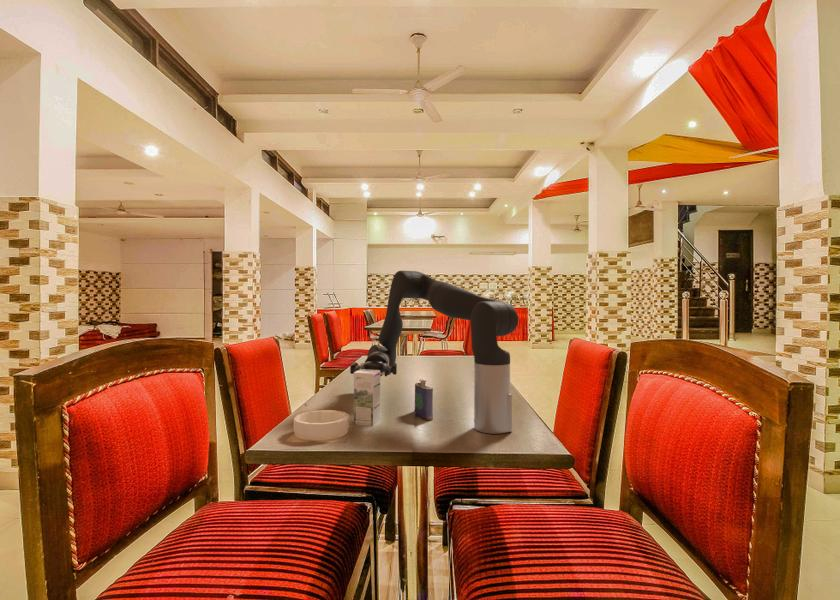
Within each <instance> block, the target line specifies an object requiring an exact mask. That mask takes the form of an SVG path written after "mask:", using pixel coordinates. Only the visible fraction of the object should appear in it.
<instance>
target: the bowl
mask: <svg viewBox="0 0 840 600" xmlns="http://www.w3.org/2000/svg"><path fill="white" fill-rule="evenodd" d="M349 425H350V414H349V413H347V412H345V411H342V410H335V409H334V410H333V409H332V410H331V409H325V410H324V409H323V410H322V409H321V410H312V411H306V412H302V413H299V414H297V415H296V416H295V417H294V418H293V433H295V437H296V438H298V439H300V440H305V441H328V440H334V439H338V438H341V437H344V436H345V435H347V434H348V429H349Z"/></svg>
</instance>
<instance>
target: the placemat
mask: <svg viewBox="0 0 840 600" xmlns="http://www.w3.org/2000/svg"><path fill="white" fill-rule="evenodd" d="M354 427H355V424H349V429H348V434H347V435H345V436H344V437H341V438H338V439H334V440H328V441H305V440H300V439H298V438H296V437H295V433H294V432H293V433H292V434H291V435H290V436H289V437H288V438H287V439H286V440H285V442H284V443H346V442H347V440H348V438H349V437H350V435H351V433H352V430H353V429H354Z"/></svg>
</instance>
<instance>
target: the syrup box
mask: <svg viewBox="0 0 840 600" xmlns="http://www.w3.org/2000/svg"><path fill="white" fill-rule="evenodd" d="M380 421H381V377H380V370H365V369H360V370H358V371H356V372H354V374H353V425H360V426H361V425H362V426H370V427H373V426H375V425H377V424H378V423H379V422H380Z"/></svg>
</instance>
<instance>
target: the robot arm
mask: <svg viewBox="0 0 840 600" xmlns="http://www.w3.org/2000/svg"><path fill="white" fill-rule="evenodd" d="M403 299H422V300H426V301H428V303H429V306H430V307H431V308H432V309H433V310H435V311H436V312H438V313H439V314H442V315H445V316H447V317H449V318H453V319H457V320H459V319H460V320H464V321H465V320H466V321H470V339H471V340H470V341H471V351H472V354H473V358H474V359H473V361H474V363H473V364H474V365H473V367H474V369H473V370H474V371H473V374H474V376H473V377H474V379H473V381H474V383H473V384H474V385H473V387H474V388H473V390H474V391H473V395H474V396H473V401H474V402H473V403H474V404H473V405H474V406H473V409H474V411H473V416H474V418H473V423H474V424H473V428H474V430H476V431H477V432H481V433H484V434H491V435H492V434H495V435H496V434H505V433H511V432H512V433H513V395H512V393H511V354H510V352H509V351H507V350H505V349H503V348H501V347H500V346H499V344H498V337H504V336H505V337H506V336H508V335H511V334H512V333H513V332H514V331H515V330H516V329H517V328H518V325H519V315H518V313H517V311H516V309H515V307H514V306H513V305H512V304H510V302H509V303H508V302H506V301H503V300H497V299H492V298H488V297H484V296H481V295H479V294H476V293H474V292H473V291H472V292H471V291H469V290H467V289H464V288H461V287H459V286H456V285H454V284H451V283H449V282H444V281H440V280H437V279H434V278H432V277H431V276H428V275H427V274H425V273H424V272H420V271H416V270H397V272H395V273H394V275H393V278H392V279H391V284H390V289H389V294H388V300H387V305H386V312H385V318H384V320H383V321H384V322H383V324H382V327H381V329H380V332H379V335H378V339H377V340H378V342H379V344H373V345H372V346H370V347H369V350H368V352H367V358H366V359H365V360H364V362H362V363H361V362H360V364H359V363H358V362H353V363H352V364H350V367H349V369H350V370H349V373H350V374H351V375H354V372H356V371H358V370H361V369H365V370H380V378H381V377H382V376H384V377H388V376H390V375H391V374H392V375H397V373H398V372H397V368H398V366H397V363H396V361H397V346H398V342H399V339H400V337H401V334H402V332H403V328H404V327H403V319H402V316H401V315H402V314H401V312H400V306H401V303H402V300H403Z"/></svg>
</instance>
